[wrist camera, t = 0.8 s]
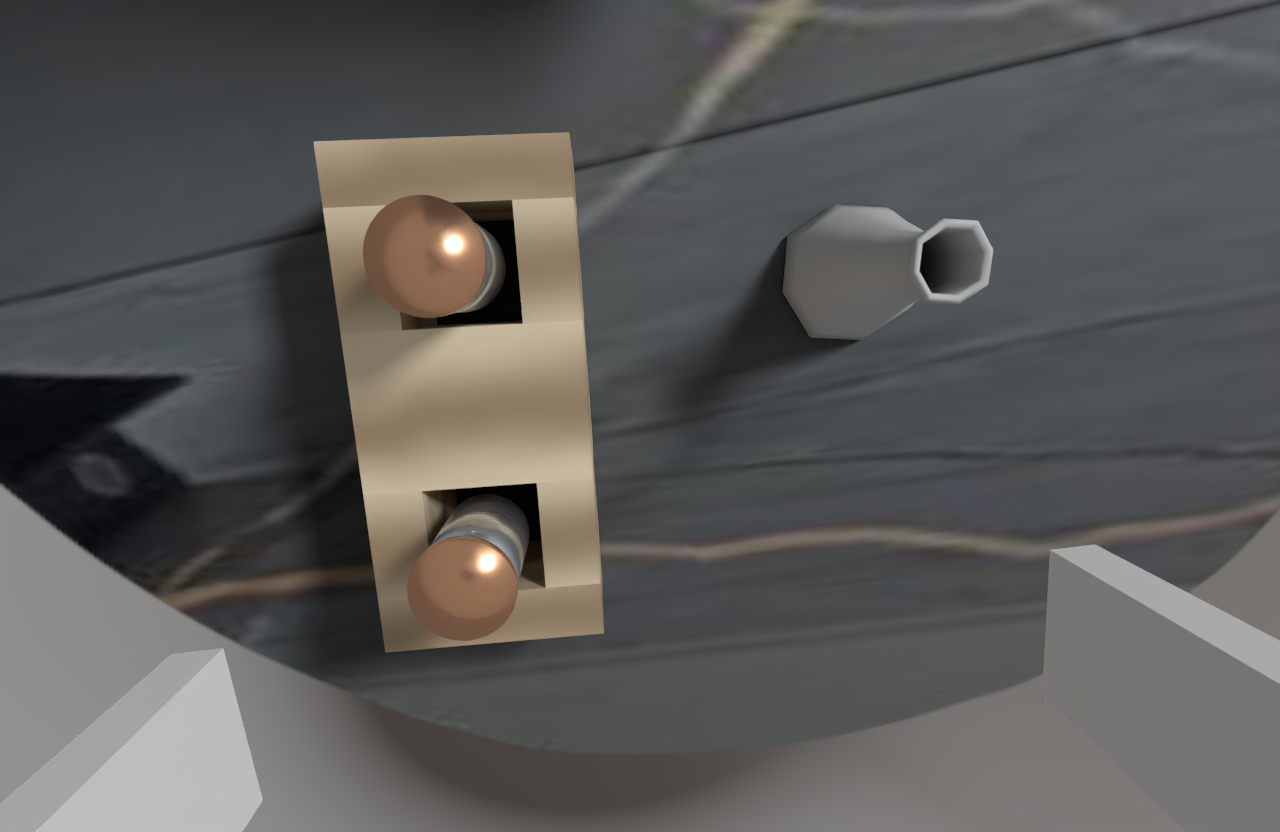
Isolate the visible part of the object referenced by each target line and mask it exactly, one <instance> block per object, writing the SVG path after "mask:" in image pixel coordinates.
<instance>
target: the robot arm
mask: <svg viewBox="0 0 1280 832" xmlns="http://www.w3.org/2000/svg"><path fill="white" fill-rule="evenodd" d="M1042 699H1044V700H1045V701H1046V702H1047V703H1048V704H1049V705H1050V706H1051V707H1052V708H1053V709H1054V710H1055V711H1057V712H1058V713H1059V714H1060V715H1061V716H1062V717H1063V718H1064V719H1065V720H1066V721H1067V722H1068V723H1069V724H1071V725H1072V726H1073V727H1074V728H1075V729H1076V730H1077V731H1078V732H1079V733H1080V734H1081V735H1083V736H1084V737H1085V738H1086V739H1087V740H1088V741H1089V742H1090V743H1091V744H1092V745H1093V746H1094V747H1095V748H1096V749H1098V750H1099V751H1100V752H1101V753H1102V754H1103V755H1104V756H1105V757H1106V758H1107V759H1108V760H1109V761H1111V762H1112V763H1113V764H1114V765H1115V766H1116V767H1117V768H1118V769H1119V770H1120V771H1121V772H1123V774H1125V775H1126V776H1127V777H1128V778H1129V779H1130V780H1131V781H1132V782H1133V783H1134V784H1135V785H1136V786H1137V787H1139V788H1140V789H1141V790H1142V791H1143V792H1144V793H1145V794H1146V795H1147V796H1149V798H1150V799H1152V800H1153V801H1154V802H1155V803H1156V804H1157V805H1158V806H1159V807H1160V808H1161V809H1162V810H1163V811H1164V812H1166V813H1167V814H1168V815H1169V816H1170V817H1171V818H1172V819H1173V820H1174V821H1175V822H1176V823H1177V824H1179V825H1180V826H1181V827H1182V828H1183V829H1184V830H1185V831H1186V832H1280V641H1279V640H1277V639H1275V638H1273V637H1271V636H1270V635H1268V634H1266V633H1264V632H1262V631H1260V630H1258V629H1256V628H1254V627H1252V626H1250V625H1249V624H1246V623H1244V622H1243V621H1241V620H1239V619H1237V618H1235V617H1233V616H1231V615H1229V614H1227V613H1225V612H1223V611H1222V610H1220V609H1218V608H1216V607H1214V606H1212V605H1210V604H1208V603H1206V602H1204V601H1202V600H1201V599H1198V598H1197V597H1195V596H1193V595H1191V594H1189V593H1187V592H1185V591H1183V590H1181V589H1179V588H1177V587H1176V586H1174V585H1172V584H1170V583H1168V582H1166V581H1164V580H1162V579H1160V578H1158V577H1156V576H1154V575H1152V574H1151V573H1149V572H1147V571H1145V570H1143V569H1141V568H1139V567H1137V566H1135V565H1133V564H1131V563H1129V562H1127V561H1126V560H1124V559H1122V558H1120V557H1118V556H1116V555H1114V554H1112V553H1110V552H1108V551H1106V550H1104V549H1103V548H1101V547H1099V546H1097V545H1087V546H1079V547H1071V548H1062V549H1054V550H1050V560H1049V579H1048V597H1047V616H1046V634H1045V653H1044V671H1043V690H1042ZM262 801H263V799H262V795H261V791H260V787H259V784H258V780H257V776H256V772H255V768H254V765H253V761H252V757H251V753H250V750H249V745H248V742H247V738H246V734H245V730H244V726H243V723H242V719H241V715H240V711H239V707H238V703H237V699H236V696H235V692H234V688H233V684H232V680H231V677H230V673H229V669H228V665H227V661H226V658H225V654H224V650H223V648H220V649H212V650H203V651H195V652H186V653H178V654H171V655H170V656H169V657H168V658H166V659H165V660H164V661H163V662H162V663H161V664H160V665H158V666H157V667H156V668H155V669H154V670H153V671H152V672H150V673H149V674H148V675H147V676H146V677H145V678H144V679H142V680H141V681H140V682H139V683H138V684H137V685H136V686H134V687H133V688H132V689H131V690H130V691H129V692H128V693H126V694H125V695H124V696H123V697H122V698H121V699H119V700H118V701H117V702H116V703H115V704H114V705H113V706H112V707H110V708H109V709H108V710H107V711H106V712H105V713H103V714H102V715H101V716H100V717H99V718H98V719H97V720H96V721H94V722H93V723H92V724H91V725H90V726H89V727H87V728H86V729H85V730H84V731H83V732H82V733H81V734H79V735H78V736H77V737H76V738H75V739H74V740H73V741H71V742H70V743H69V744H68V745H67V746H66V747H65V748H63V749H62V750H61V751H60V752H59V753H58V754H57V755H55V756H54V757H53V758H52V759H51V760H50V761H49V762H47V763H46V764H45V765H44V766H43V767H42V768H41V769H39V770H38V771H37V772H36V773H35V774H34V775H32V776H31V777H30V778H29V779H28V780H27V781H26V782H24V784H22V785H21V786H20V787H19V788H18V789H16V790H15V791H14V792H13V793H12V794H11V795H10V796H8V797H7V798H6V799H5V800H4V801H3V802H1V803H0V832H243V830H244V829H245V827H246V826H247V824H248V822H249V821H250V819H251V818H252V816H253V815H254V813H255V812H256V810H257V809H258V807H259V805H260V804H261V802H262Z"/></svg>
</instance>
